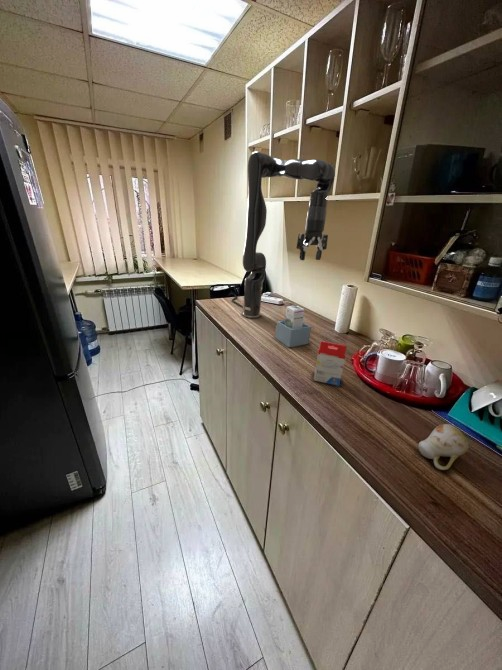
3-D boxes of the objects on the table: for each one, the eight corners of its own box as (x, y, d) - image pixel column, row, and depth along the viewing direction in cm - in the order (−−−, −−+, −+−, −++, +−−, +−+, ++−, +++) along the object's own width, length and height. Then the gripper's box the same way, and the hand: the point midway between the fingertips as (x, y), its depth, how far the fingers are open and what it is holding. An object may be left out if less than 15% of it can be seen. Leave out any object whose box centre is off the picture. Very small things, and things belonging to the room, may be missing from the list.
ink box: (339, 379, 94) (348, 340, 88) (339, 386, 89) (348, 346, 84) (314, 373, 96) (321, 335, 90) (312, 380, 92) (319, 341, 86)
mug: (405, 447, 66) (425, 411, 66) (432, 459, 69) (451, 425, 69) (431, 466, 59) (453, 426, 59) (461, 479, 62) (482, 441, 61)
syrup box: (301, 340, 120) (305, 308, 114) (290, 342, 117) (294, 310, 111) (293, 335, 124) (297, 304, 119) (282, 337, 122) (286, 306, 116)
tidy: (275, 337, 123) (277, 321, 120) (294, 334, 128) (296, 318, 125) (288, 347, 114) (291, 330, 111) (308, 343, 119) (311, 326, 116)
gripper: (322, 219, 116) (316, 258, 123) (296, 217, 110) (291, 258, 116) (335, 220, 110) (328, 261, 117) (307, 218, 104) (302, 261, 110)
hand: (310, 259), depth 116 cm, fingers open, 8 cm apart
